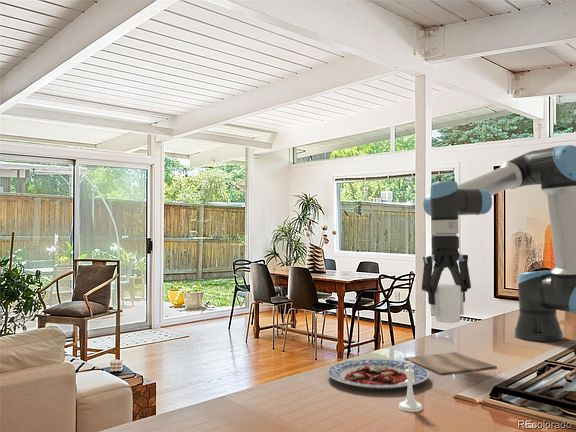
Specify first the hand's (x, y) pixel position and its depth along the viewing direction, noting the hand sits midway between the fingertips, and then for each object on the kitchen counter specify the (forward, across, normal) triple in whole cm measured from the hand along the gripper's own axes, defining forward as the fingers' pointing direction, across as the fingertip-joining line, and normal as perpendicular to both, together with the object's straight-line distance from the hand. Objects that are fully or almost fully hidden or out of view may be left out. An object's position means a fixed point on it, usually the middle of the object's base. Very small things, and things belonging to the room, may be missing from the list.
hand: (447, 314), depth 147 cm
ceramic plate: (+14, -26, -6) cm, 30 cm away
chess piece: (+14, -30, -28) cm, 43 cm away
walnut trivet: (+14, 0, 0) cm, 14 cm away
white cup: (+2, 0, 0) cm, 2 cm away
